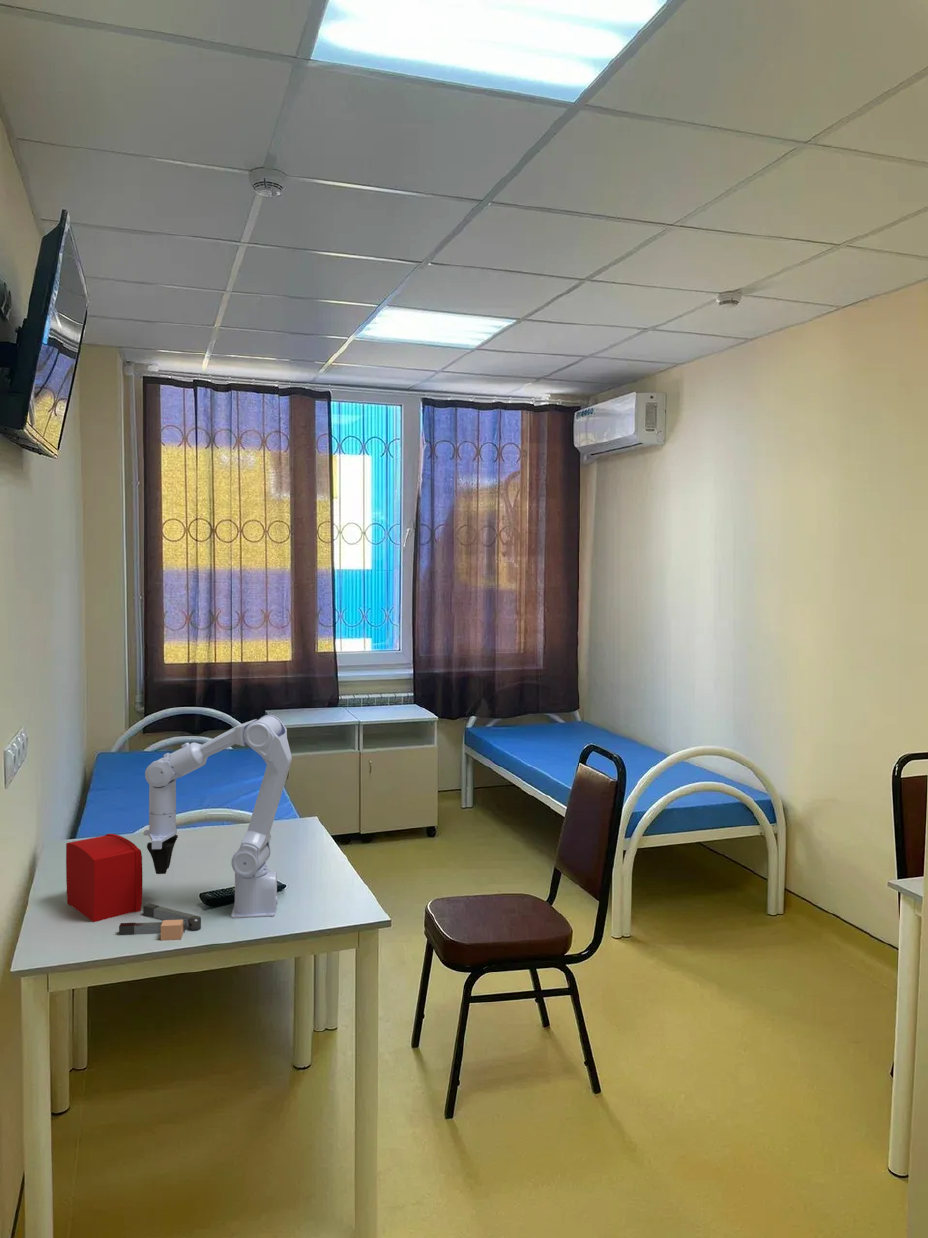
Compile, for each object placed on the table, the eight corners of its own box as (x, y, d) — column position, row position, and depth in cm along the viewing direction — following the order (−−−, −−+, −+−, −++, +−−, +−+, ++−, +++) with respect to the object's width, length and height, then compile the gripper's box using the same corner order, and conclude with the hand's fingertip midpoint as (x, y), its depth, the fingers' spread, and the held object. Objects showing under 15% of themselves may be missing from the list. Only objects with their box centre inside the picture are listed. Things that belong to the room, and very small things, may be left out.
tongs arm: (205, 926, 191) (205, 916, 190) (194, 932, 188) (195, 921, 188) (149, 912, 198) (149, 902, 198) (138, 917, 195) (138, 907, 195)
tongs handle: (185, 930, 189) (185, 920, 189) (184, 933, 187) (184, 923, 187) (120, 932, 187) (120, 923, 187) (119, 936, 185) (119, 926, 185)
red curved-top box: (143, 911, 199) (142, 845, 198) (94, 924, 192) (94, 855, 191) (112, 891, 211) (112, 829, 210) (66, 903, 203) (65, 838, 202)
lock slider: (183, 933, 187) (183, 919, 187) (180, 939, 184) (180, 925, 184) (163, 934, 186) (163, 920, 186) (160, 940, 183) (160, 926, 183)
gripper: (150, 803, 207) (150, 861, 208) (137, 821, 193) (137, 882, 193) (181, 803, 208) (181, 860, 209) (171, 820, 194) (170, 881, 194)
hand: (162, 871), depth 201 cm, fingers open, 3 cm apart
